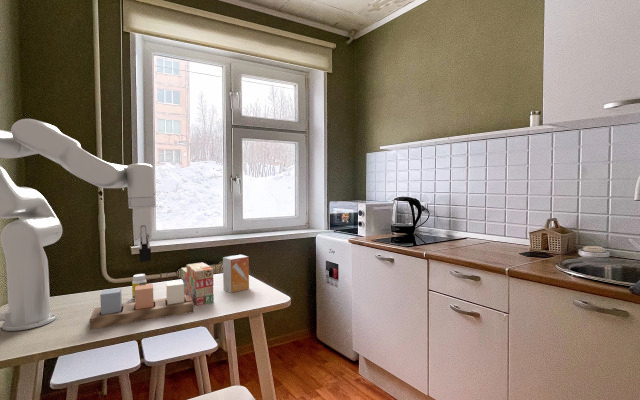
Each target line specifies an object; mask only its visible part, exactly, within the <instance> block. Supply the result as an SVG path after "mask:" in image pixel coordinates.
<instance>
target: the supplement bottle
mask: <svg viewBox="0 0 640 400" xmlns="http://www.w3.org/2000/svg"><path fill="white" fill-rule="evenodd" d="M132 279H133V280H132V281H131V283H132V284H131V288H132V289H131V291H132V293H131V294H132V299H133V300H135V287H136V286H141V285H148V284H147V283H148V281H147V279H146V274H145V273H138V274H137V273H136V274H134V275H133V276H132Z"/></svg>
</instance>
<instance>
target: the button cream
mask: <svg viewBox="0 0 640 400" xmlns="http://www.w3.org/2000/svg"><path fill="white" fill-rule="evenodd" d="M165 286H166V298H167V304H168V305H169V304H175V303H182V302H184V295H185V294H184V283H183V280H182V279H181V280H174V281H167V282H166V285H165Z"/></svg>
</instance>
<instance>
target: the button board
mask: <svg viewBox="0 0 640 400" xmlns="http://www.w3.org/2000/svg"><path fill="white" fill-rule="evenodd" d="M153 302H154V307H149V308H142V309H136V307H135V302H129V303H122V308H121V312H116V313H109V314H102V315H101V306H100V307H95V308H93V311H92V313H91V315H90V318H89V330H95V329H100V328H107V327H108V328H109V327H113V326H118V325H119V326H120V325H125V324H126V325H127V324H131V323H137V322H144V321H149V320H155V319H161V318H167V317H169V318H170V317H173V316H178V315H179V316H181V315H186V314H192V313H194V303H193V301H192V298H191V296H190V295H185V294H184V302H182V303H175V304H169V305H168V304H167V297H163V298H158V299H157V298H156V299H153Z"/></svg>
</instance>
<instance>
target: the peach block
mask: <svg viewBox="0 0 640 400" xmlns="http://www.w3.org/2000/svg"><path fill="white" fill-rule="evenodd" d="M153 300H154V284H153V283H150V284H147V285H141V286H136V287H135V299H134V301H135V302H134V303H135V307H136V309H142V308H149V307H154V302H153Z"/></svg>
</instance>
